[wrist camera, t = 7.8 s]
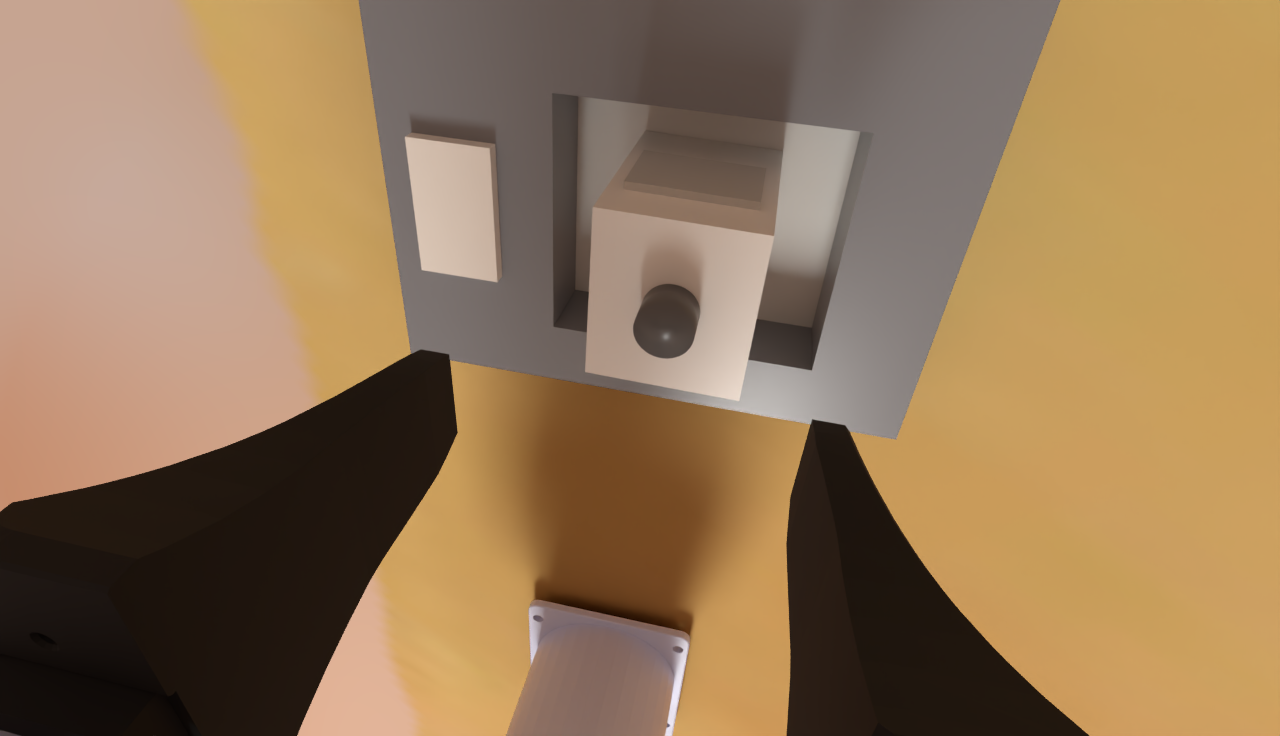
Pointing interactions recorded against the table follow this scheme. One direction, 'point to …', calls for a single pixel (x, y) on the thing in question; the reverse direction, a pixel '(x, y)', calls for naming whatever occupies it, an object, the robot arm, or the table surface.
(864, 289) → the socket plate
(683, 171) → the plug
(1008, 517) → the table surface
